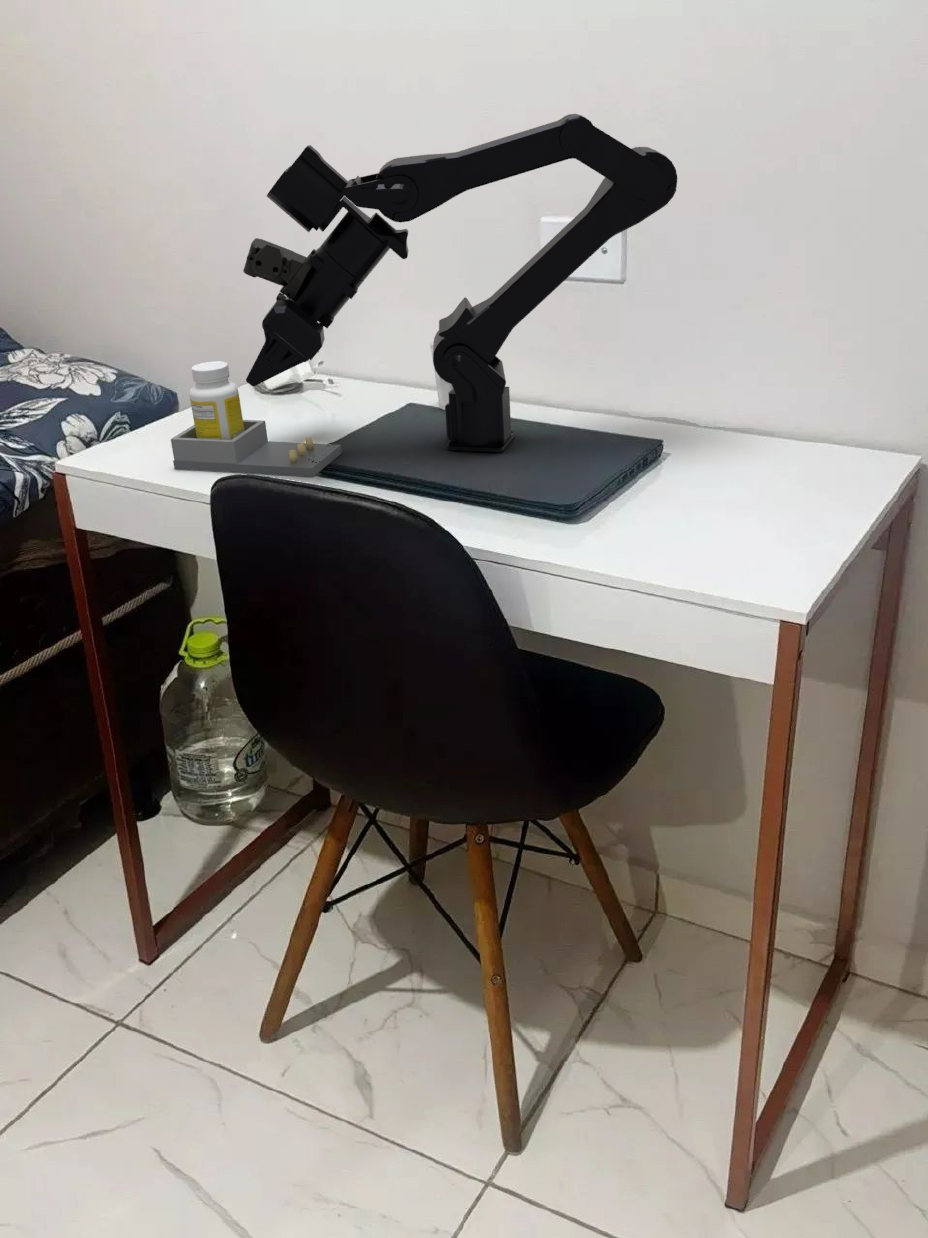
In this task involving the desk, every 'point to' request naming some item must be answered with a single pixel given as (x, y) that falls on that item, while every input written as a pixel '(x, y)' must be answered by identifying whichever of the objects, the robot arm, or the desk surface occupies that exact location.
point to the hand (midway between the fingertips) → (255, 372)
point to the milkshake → (441, 386)
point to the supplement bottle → (215, 402)
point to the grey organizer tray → (250, 453)
